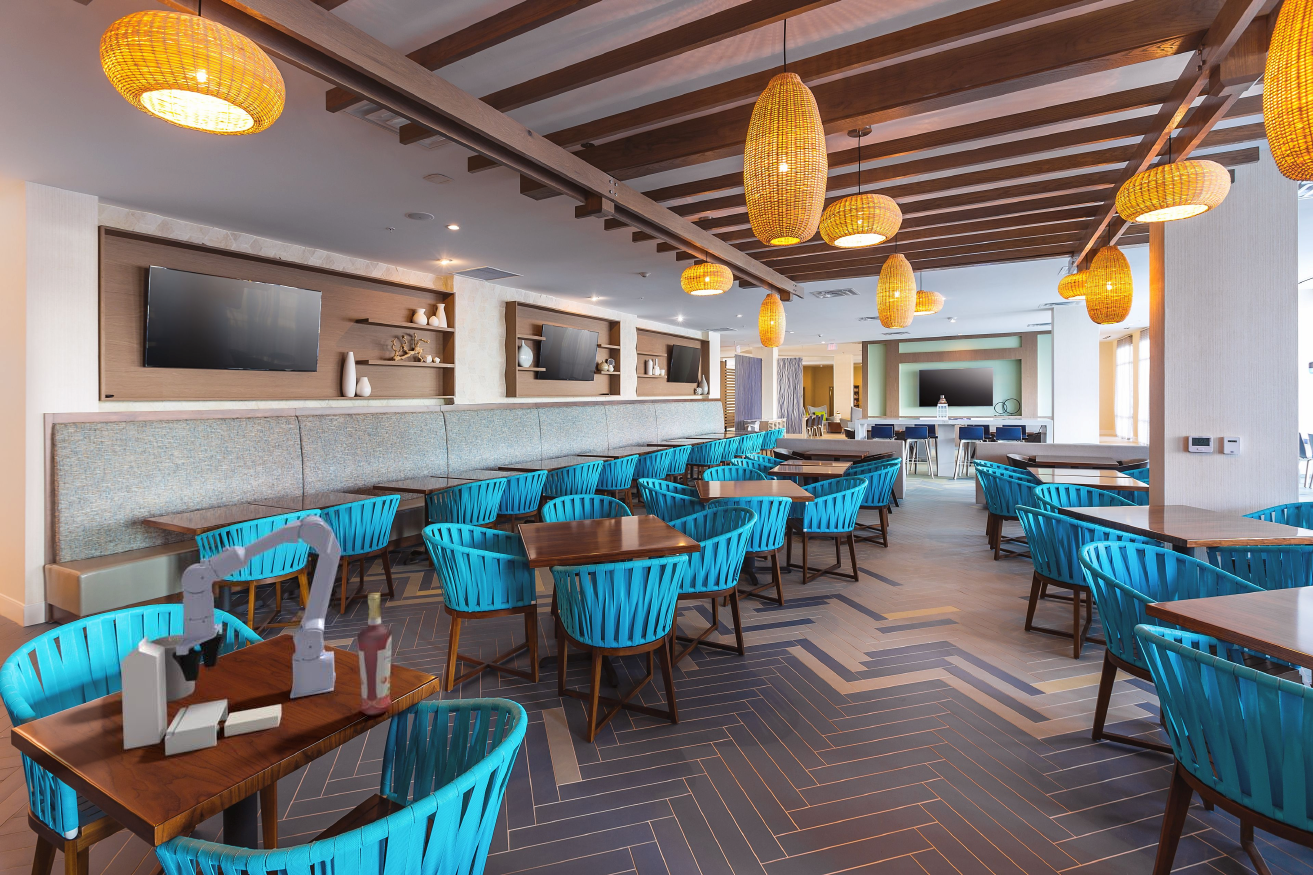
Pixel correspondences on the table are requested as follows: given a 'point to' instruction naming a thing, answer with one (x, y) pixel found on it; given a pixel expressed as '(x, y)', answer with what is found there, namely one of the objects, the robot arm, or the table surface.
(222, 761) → the table surface
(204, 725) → the slotted white box
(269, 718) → the cream rectangular beam
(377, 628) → the liquor
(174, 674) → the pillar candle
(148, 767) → the table surface
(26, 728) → the table surface
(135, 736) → the milk
